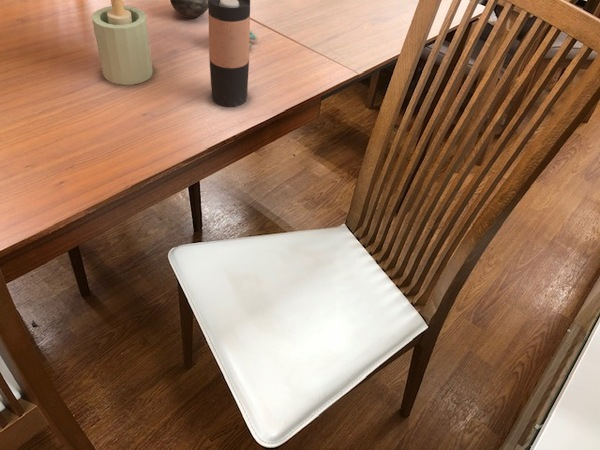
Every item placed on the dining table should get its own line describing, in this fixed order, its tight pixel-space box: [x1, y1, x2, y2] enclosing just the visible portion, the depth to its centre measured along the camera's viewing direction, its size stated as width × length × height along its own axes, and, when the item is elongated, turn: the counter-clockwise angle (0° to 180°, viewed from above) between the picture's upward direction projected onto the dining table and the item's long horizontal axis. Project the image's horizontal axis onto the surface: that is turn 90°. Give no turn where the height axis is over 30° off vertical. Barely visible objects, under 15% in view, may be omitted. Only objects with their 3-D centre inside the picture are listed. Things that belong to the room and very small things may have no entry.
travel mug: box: [207, 0, 251, 108], centre depth 97 cm, size 8×8×20 cm
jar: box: [91, 5, 154, 86], centre depth 103 cm, size 10×10×12 cm
